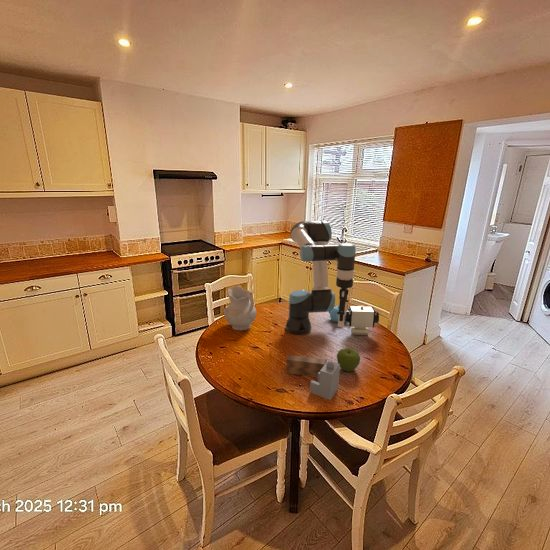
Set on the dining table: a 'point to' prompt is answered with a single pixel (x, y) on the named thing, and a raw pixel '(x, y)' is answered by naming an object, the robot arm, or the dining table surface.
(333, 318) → the teapot
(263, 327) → the dining table surface
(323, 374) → the grey two-prong block
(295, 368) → the rail
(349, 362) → the apple
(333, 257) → the robot arm
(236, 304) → the ceramic pitcher
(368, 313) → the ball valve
